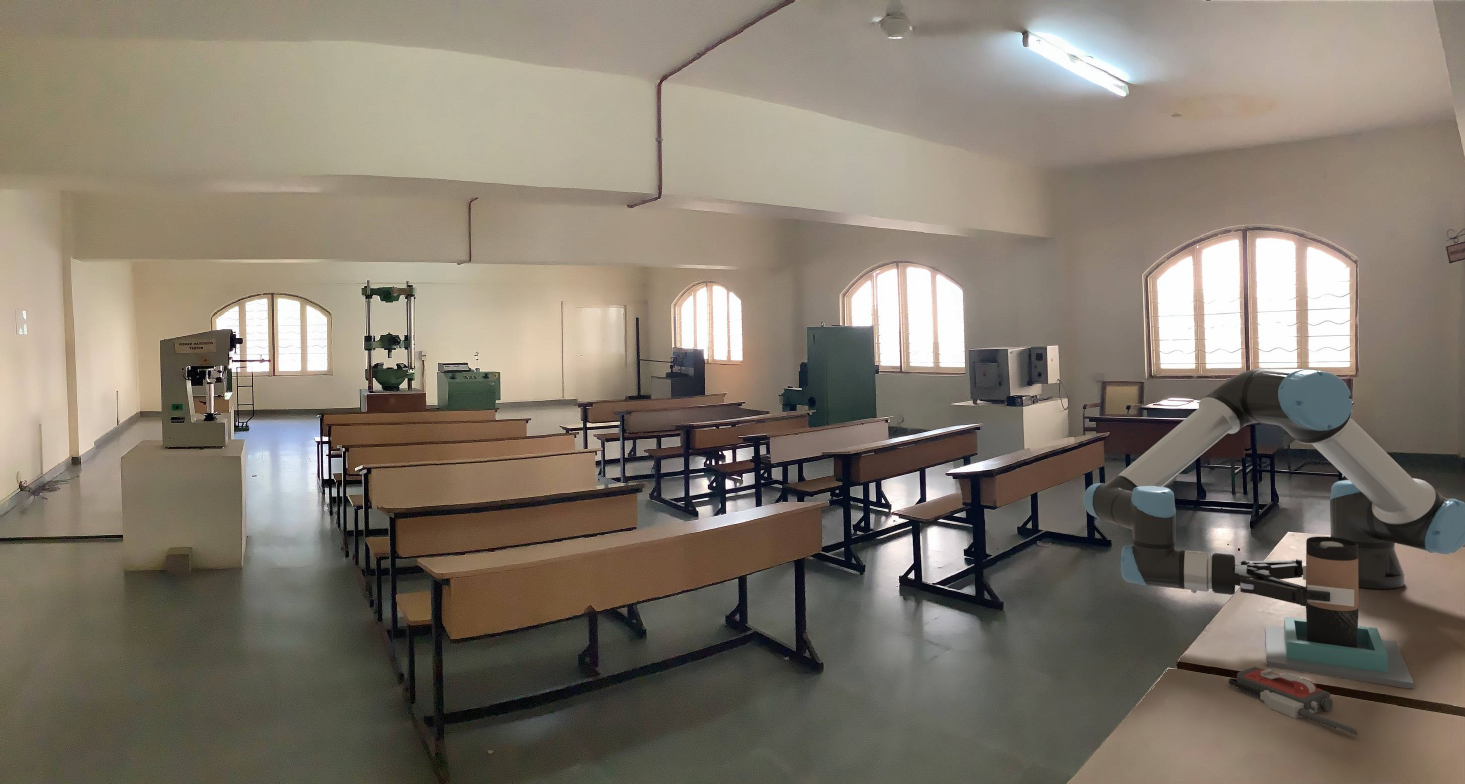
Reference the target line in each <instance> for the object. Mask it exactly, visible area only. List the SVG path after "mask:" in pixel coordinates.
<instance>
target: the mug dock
mask: <svg viewBox="0 0 1465 784" xmlns="http://www.w3.org/2000/svg"><path fill="white" fill-rule="evenodd" d="M1283 619H1284V621H1283V622H1284V623H1283V624H1284V625H1283V626H1279V625H1273V624H1265V625H1264V626H1265V627H1264V628H1265V629H1264V631H1265V653H1266V657H1265V658H1266V659H1265V660H1266V667H1267V668H1272V669H1279V670H1287V671H1293V672H1294V671H1295V672H1298V673H1299V672H1300V673H1306V674H1314V675H1320V676H1324V677H1325V676H1326V677H1331V678H1332V677H1333V678H1339V679H1345V680H1351V681H1360V682H1366V683H1371V684H1377V685H1378V684H1379V685H1385V686H1390V687H1391V686H1393V687H1398V688H1403V689H1411V690H1414V689H1415V688H1414V687H1415V686H1414V685H1415V684H1414V683H1415V682H1414V681H1413V677H1412V676H1411V674H1410V671H1409V670H1408V667H1407V664H1406V662H1405V659H1404V657H1403V655H1402V652H1401V651H1400V648H1399V646H1398V644H1397V641H1396V640H1388V639H1382V637H1381V633H1380V631H1379V629H1378V628H1377V627H1371V626H1365V625H1358V634H1357V648H1352V647H1344V646H1337V645H1329V644H1322V643H1315V642H1307V622H1306V618H1299V617H1292V616H1291V617H1289V616H1284V617H1283Z"/></svg>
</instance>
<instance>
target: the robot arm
mask: <svg viewBox="0 0 1465 784" xmlns="http://www.w3.org/2000/svg"><path fill="white" fill-rule="evenodd" d="M1350 397H1351V390H1350V388H1349V387H1348V385H1347V384H1346V382H1345V381H1344V380H1343V379H1341V378H1340V377H1339V376H1337V375H1336V374H1334V373H1331V372H1328V371H1324V370H1323V371H1322V370H1317V369H1313V368H1302V369H1301V368H1299V369H1297V368H1294V369H1292V368H1269V367H1259V368H1253V369H1249V370H1245V371H1244V372H1241V373H1239V374H1237V375H1235V376H1233V377H1231V378H1229V379H1227V380H1226V381H1224V382H1223V383H1221V384H1220V385H1218V386H1217V387H1215V388H1214V389H1213V390H1211V391H1210V392H1209V393H1207V394H1206V395H1205V396H1204V397H1203V398H1201V399H1200V400H1199V402H1198V408H1197V409H1196V410H1195V411H1193V412H1192V413H1191V414H1190V415H1189V416H1187V417H1186V418H1185V419H1184V420H1182V421H1181V422H1180V423H1179V424H1177V425H1176V426H1175V427H1174V428H1173V429H1171V431H1169V432H1168V433H1167V434H1166V435H1164V436H1163V437H1162V438H1161V439H1159V440H1158V441H1157V442H1156V443H1155V444H1153V445H1152V446H1151V447H1150V448H1149V449H1148V450H1146V451H1145V452H1144V453H1143V454H1141V455H1140V456H1139V457H1138V458H1137V459H1136V460H1135V461H1133V462H1132V463H1131V464H1130V465H1129V466H1127V467H1126V468H1125V469H1124V470H1122V471H1121V472H1120V473H1119V474H1118V475H1116V476H1115V477H1114V478H1113V479H1112V480H1109V482H1108V483H1105V482H1102V483H1101V482H1100V483H1094V484H1091V485H1090V486H1089V487H1087V489H1086V490H1085V491H1084V494H1083V498H1082V502H1083V503H1082V504H1083V506H1084V508H1085V511H1086V512H1087V513H1088V514H1089V515H1091V516H1093V517H1095V518H1096V519H1099V520H1101V521H1102V522H1103V521H1104V522H1109V523H1111V524H1114V525H1117V526H1119V527H1124V528H1126V529H1129V530H1131V531H1132V541H1131V542H1132V543H1131V544H1130V545H1129V544H1126V545H1123V546H1122V548H1121V556H1120V558H1121V560H1120V573H1121V577H1122V579H1123V580H1124V581H1125V582H1127V583H1131V584H1137V585H1143V586H1147V587H1159V588H1160V587H1161V588H1169V589H1170V588H1171V589H1179V590H1188V591H1189V590H1190V591H1191V593H1193V594H1196V593H1197V592H1205V593H1208V592H1209V590H1212V591H1211V592H1213V593H1214V594H1220V595H1230V596H1232V595H1234V594H1235V593H1236V587H1237V586H1238V587H1240V592H1241V593H1242V594H1251V595H1256V596H1261V597H1265V598H1269V599H1274V600H1279V601H1283V602H1286V603H1291V604H1296V605H1299V606H1301V607H1306V606H1307V601H1309V602H1318V603H1327V604H1336V605H1345V606H1354V590H1352V589H1342V588H1332V587H1323V586H1313V585H1307V587H1306V586H1304V585H1300V584H1296V583H1293V582H1290V581H1287V580H1288V579H1298V578H1299V579H1300V578H1302V580H1304V581H1306V564H1303V560H1302V559H1299V558H1296V559H1295V560H1294V559H1292V560H1246V559H1243V560H1240V564H1239V565H1238V564H1236V558H1235V557H1236V556H1235V555H1233V554H1229V553H1216V552H1214V553H1212V555H1210V553H1209V552H1208V551H1198V550H1186V549H1176V513H1177V508H1176V503H1175V501H1176V500H1175V494H1174V491H1173V490H1171V489H1170V488H1169V487H1164V486H1166V485H1167V484H1168V483H1169V482H1170V481H1172V479H1174V478H1175V477H1176V476H1178V475H1179V474H1180V473H1181V472H1182V471H1183V470H1185V469H1186V468H1188V466H1190V465H1191V464H1193V462H1194V461H1196V460H1197V459H1198V458H1199V457H1201V455H1203V454H1204V453H1206V452H1207V451H1208V450H1209V449H1210V448H1212V447H1213V446H1214V445H1215V444H1216V443H1218V442H1219V441H1220V440H1221V439H1223V438H1224V437H1225V436H1226V435H1227V434H1231V435H1233V434H1236V433H1238V431H1240V430H1241V429H1242V428H1244V427H1246V426H1247V425H1248V426H1249V425H1251V424H1258V423H1259V424H1268V425H1274V426H1275V425H1277V426H1279V427H1281V428H1282V429H1283V430H1285V432H1287V433H1288V434H1289V435H1290V436H1291V437H1292V438H1293V439H1294V440H1295V441H1296V442H1298V443H1301V444H1304V445H1312V446H1313V447H1314V448H1315V449H1316V450H1317V451H1318V452H1319V453H1320V454H1321V455H1322V456H1323V457H1324V458H1325V459H1327V460H1328V462H1329V463H1331V464H1332V465H1333V466H1334V467H1335V468H1336V469H1337V471H1339V472H1340V473H1341V474H1342V475H1343V476H1344V477H1345V478H1346V480H1338V481H1336V482H1334V483H1333V484H1332V485H1331V491H1330V497H1329V508H1330V509H1329V515H1330V518H1329V522H1330V537H1337V538H1343V539H1348V540H1352V541H1354V542H1356V543H1357V544H1358V588H1363V589H1372V590H1373V589H1376V590H1377V589H1378V590H1389V589H1390V590H1391V589H1392V590H1393V589H1398V588H1402V587H1403V586H1405V573H1404V570H1403V568H1402V566H1401V565H1402V564H1401V563H1400V560H1399V558H1398V555H1397V553H1396V549H1395V548H1396V547H1395V546H1396V545H1395V544H1397V545H1402V546H1406V547H1409V548H1414V549H1417V550H1422V551H1426V552H1428V553H1430V554H1431V553H1432V554H1439V555H1440V554H1441V555H1451V554H1454V553H1456V552H1459V550H1461V549H1462V548H1463V547H1464V546H1465V502H1464V501H1462V500H1459V499H1456V498H1447V497H1444V496H1443V495H1442V494H1441V493H1440V492H1438V490H1437V489H1436V488H1434V486H1432V485H1431V484H1430V483H1429V482H1427V481H1426V480H1424V479H1423V480H1422V479H1420V478H1413V477H1411V475H1410V474H1409V473H1408V472H1407V471H1405V469H1404V468H1403V467H1401V466H1400V464H1399V463H1397V462H1396V461H1395V459H1393V458H1392V457H1391V456H1390V454H1388V453H1387V452H1386V451H1385V450H1384V449H1383V448H1382V447H1381V446H1380V445H1379V444H1378V443H1377V442H1376V441H1375V440H1374V438H1372V437H1371V436H1370V435H1369V434H1368V433H1367V432H1366V431H1365V430H1364V429H1363V428H1362V427H1361V426H1360V425H1359V424H1358V423H1357V422H1356V421H1355V420H1354V419H1353V418H1352V416H1353V409H1352V408H1353V399H1350Z"/></svg>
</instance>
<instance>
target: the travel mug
mask: <svg viewBox="0 0 1465 784" xmlns="http://www.w3.org/2000/svg"><path fill="white" fill-rule="evenodd" d="M1305 541H1306V542H1305V543H1306V544H1305V545H1306V546H1305V552H1306V553H1305V565H1306V580H1305V587H1307V585H1313V586H1323V587H1332V588H1342V589H1352V590H1354V606H1345V605H1336V604H1327V603H1318V602H1309V601H1307V606H1305V614H1306V617H1305V619H1306V622H1307V642H1315V643H1322V644H1329V645H1337V646H1344V647H1352V648H1357V634H1358V626H1359V610H1360V609H1359V604H1360V603H1359V602H1360V601H1359V598H1360V597H1359V593H1360V592H1359V587H1358V544H1357V543H1356V542H1354V541H1352V540H1348V539H1343V538H1337V537H1331V536H1312V537H1308V538H1307V539H1306V540H1305Z"/></svg>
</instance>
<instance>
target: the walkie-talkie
mask: <svg viewBox="0 0 1465 784" xmlns="http://www.w3.org/2000/svg"><path fill="white" fill-rule="evenodd" d="M1228 684H1229V685H1230V686H1233V687H1236V690H1237V691H1238V692H1240V693H1244V694H1247V695H1249V696H1250V697H1254V698H1257V699H1259V700H1261V701H1263V703H1264V705H1266V706H1267V708H1269V709H1271V710H1273V711H1276V712H1278V713H1281V714H1284V715H1286V716H1289V717H1290V718H1291V719H1298V718H1303V719H1305V720H1306V719H1307V720H1308V719H1309V720H1312V721H1314V722H1315V723H1319V724H1322V725H1324V726H1327V727H1329V728H1332V729H1339V730H1342V731H1343V732H1344V731H1345V732H1347V733H1350V734H1352V735H1355V736H1357V735H1358V733H1359V732H1358V730H1357V729H1356V728H1355V727H1354V728H1353V727H1351V726H1349V725H1346V724H1343V723H1341V722H1338V721H1335V720H1333V719H1330V718H1327V717H1326V716H1325V717H1324V716H1322V715H1319V714H1317V713H1319V712H1322V711H1326V712H1329V711H1330V710H1332V708H1333V705H1334V704H1333V699H1332V697H1331V693H1330V692H1329V691H1326V690H1323V689H1321V688H1318V687H1317V686H1316V684H1315V683H1314V682H1313V681H1312V680H1309V679H1306V678H1305V677H1304V678H1301V677H1300V676H1297V675H1295V674H1292V673H1289V672H1286V673H1284V674H1279V673H1275V672H1273V669H1271V668H1267V669H1264V668H1261V667H1256V666H1253V667H1250V668H1248V669H1243V670H1240V671H1238V672H1237V674H1236V678H1234V677H1230V678H1228Z"/></svg>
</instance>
